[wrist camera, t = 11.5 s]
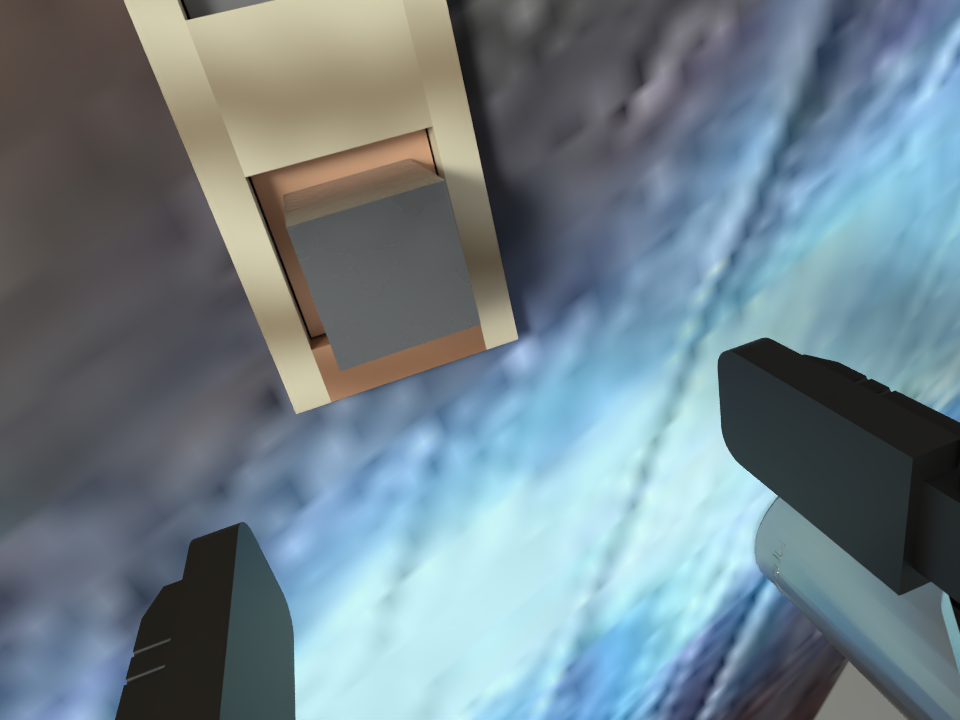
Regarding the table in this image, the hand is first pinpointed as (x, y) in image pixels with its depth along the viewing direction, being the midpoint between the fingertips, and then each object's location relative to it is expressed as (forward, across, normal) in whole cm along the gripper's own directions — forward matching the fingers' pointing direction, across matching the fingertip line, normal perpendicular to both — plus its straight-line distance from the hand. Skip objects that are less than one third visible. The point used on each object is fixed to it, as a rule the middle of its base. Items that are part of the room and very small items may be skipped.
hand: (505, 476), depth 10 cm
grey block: (+18, 0, 0) cm, 18 cm away
